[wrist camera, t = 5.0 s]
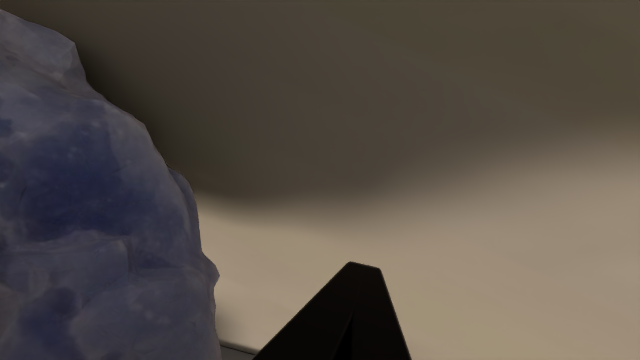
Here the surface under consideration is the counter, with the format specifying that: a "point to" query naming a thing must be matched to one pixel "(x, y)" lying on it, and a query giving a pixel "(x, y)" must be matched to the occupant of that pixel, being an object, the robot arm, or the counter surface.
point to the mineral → (91, 221)
